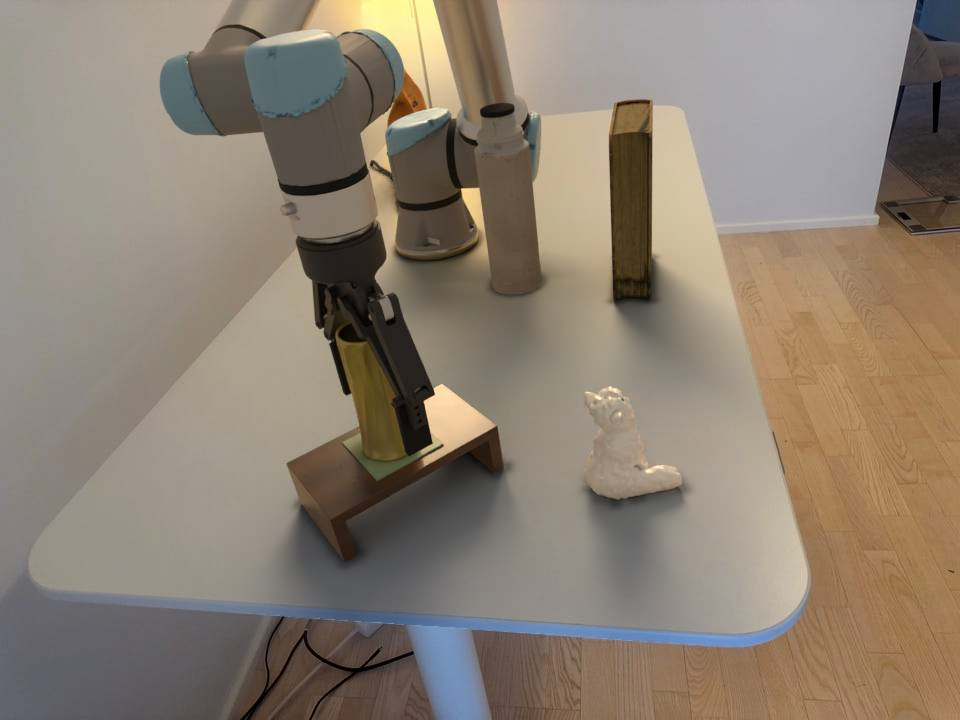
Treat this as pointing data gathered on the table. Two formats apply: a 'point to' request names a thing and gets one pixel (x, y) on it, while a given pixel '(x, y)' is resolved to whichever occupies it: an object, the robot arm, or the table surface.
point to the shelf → (387, 466)
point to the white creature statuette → (621, 451)
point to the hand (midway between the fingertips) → (385, 417)
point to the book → (631, 197)
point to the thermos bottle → (507, 201)
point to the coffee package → (407, 101)
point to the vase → (370, 396)
